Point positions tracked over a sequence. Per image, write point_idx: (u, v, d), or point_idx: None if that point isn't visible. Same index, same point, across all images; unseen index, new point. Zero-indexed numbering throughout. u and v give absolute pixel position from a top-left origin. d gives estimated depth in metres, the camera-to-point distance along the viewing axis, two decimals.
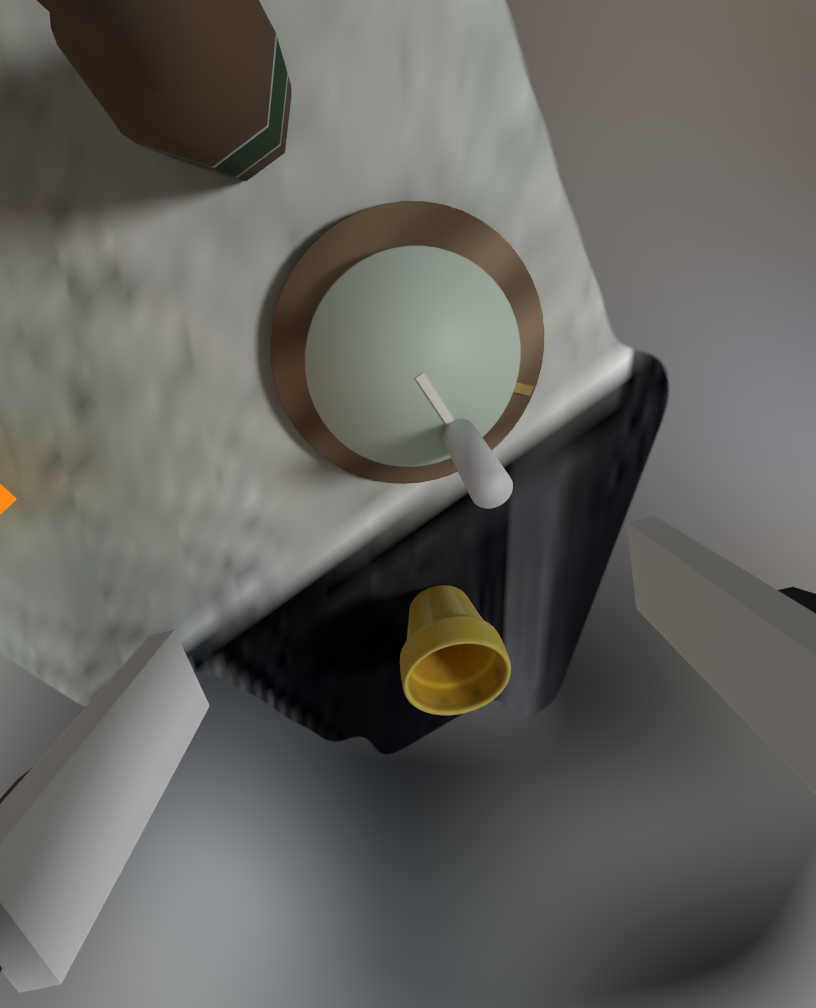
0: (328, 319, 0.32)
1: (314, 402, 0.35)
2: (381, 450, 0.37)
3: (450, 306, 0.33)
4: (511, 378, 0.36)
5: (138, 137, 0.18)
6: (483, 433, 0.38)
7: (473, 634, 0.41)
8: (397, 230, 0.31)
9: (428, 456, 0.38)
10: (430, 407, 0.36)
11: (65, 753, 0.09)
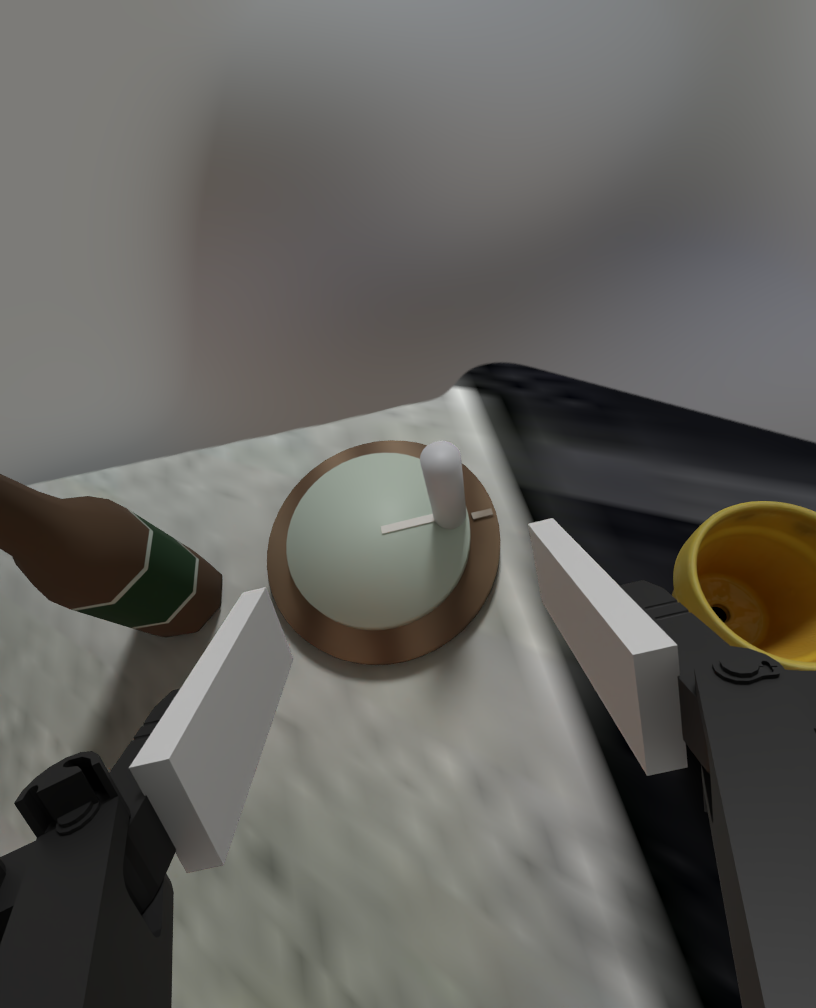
0: (307, 582, 0.39)
1: (360, 624, 0.37)
2: (433, 585, 0.37)
3: (344, 494, 0.42)
4: (418, 463, 0.42)
5: (95, 584, 0.30)
6: None
7: (691, 538, 0.30)
8: None
9: (458, 546, 0.38)
10: (412, 530, 0.40)
11: (206, 678, 0.10)
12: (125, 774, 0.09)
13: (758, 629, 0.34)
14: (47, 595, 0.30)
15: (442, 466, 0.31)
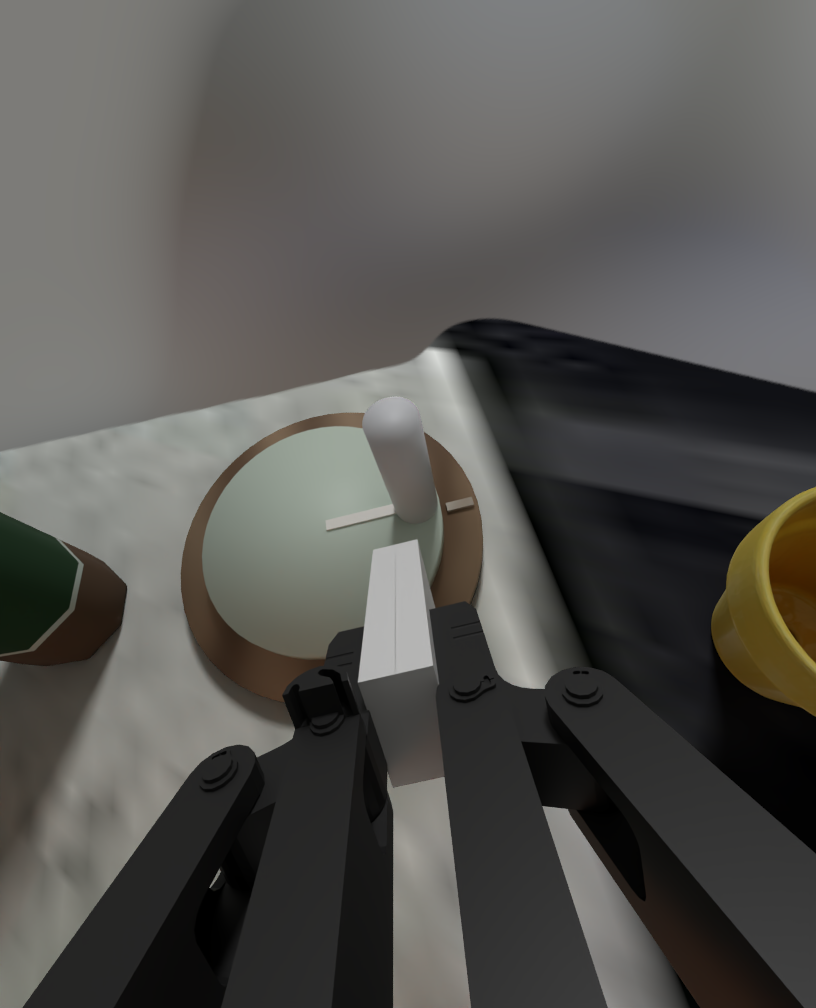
0: (225, 594, 0.29)
1: (292, 653, 0.27)
2: None
3: (281, 479, 0.32)
4: None
5: None
6: None
7: (756, 534, 0.20)
8: None
9: (426, 546, 0.29)
10: (366, 525, 0.30)
11: (386, 615, 0.11)
12: None
13: None
14: None
15: (393, 431, 0.22)
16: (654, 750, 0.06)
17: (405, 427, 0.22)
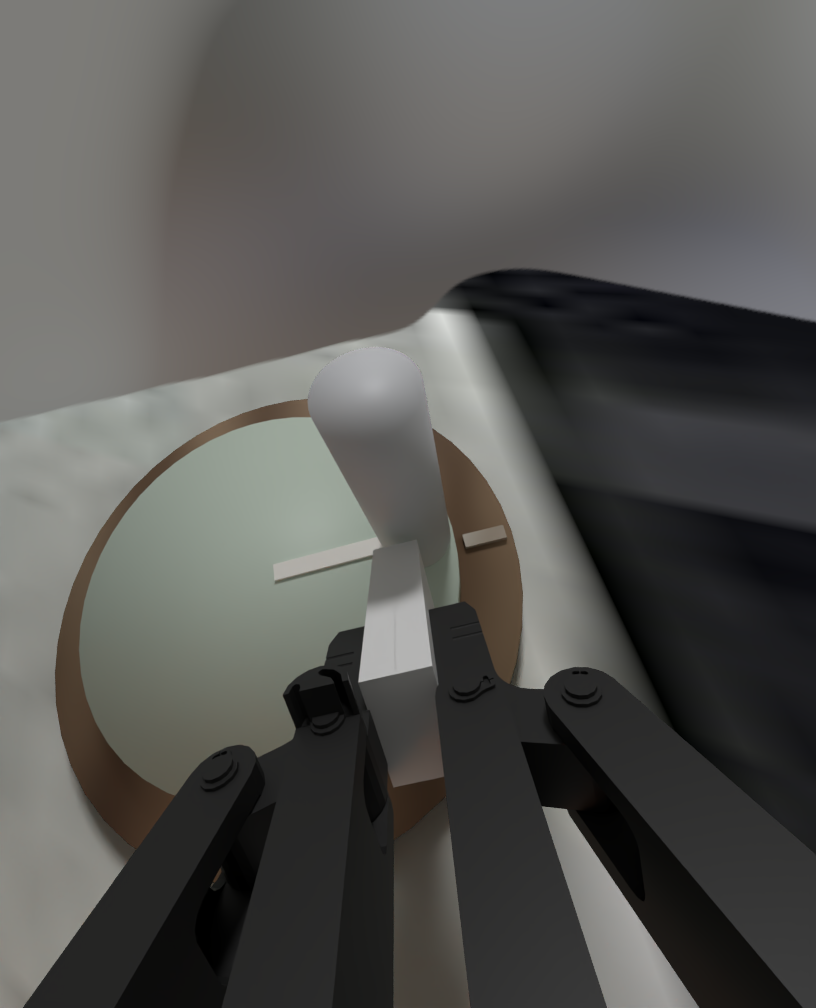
0: (110, 691, 0.18)
1: None
2: None
3: (209, 499, 0.21)
4: None
5: None
6: None
7: None
8: None
9: None
10: (338, 571, 0.19)
11: (386, 615, 0.11)
12: None
13: None
14: None
15: (369, 415, 0.11)
16: (653, 750, 0.06)
17: (394, 405, 0.11)
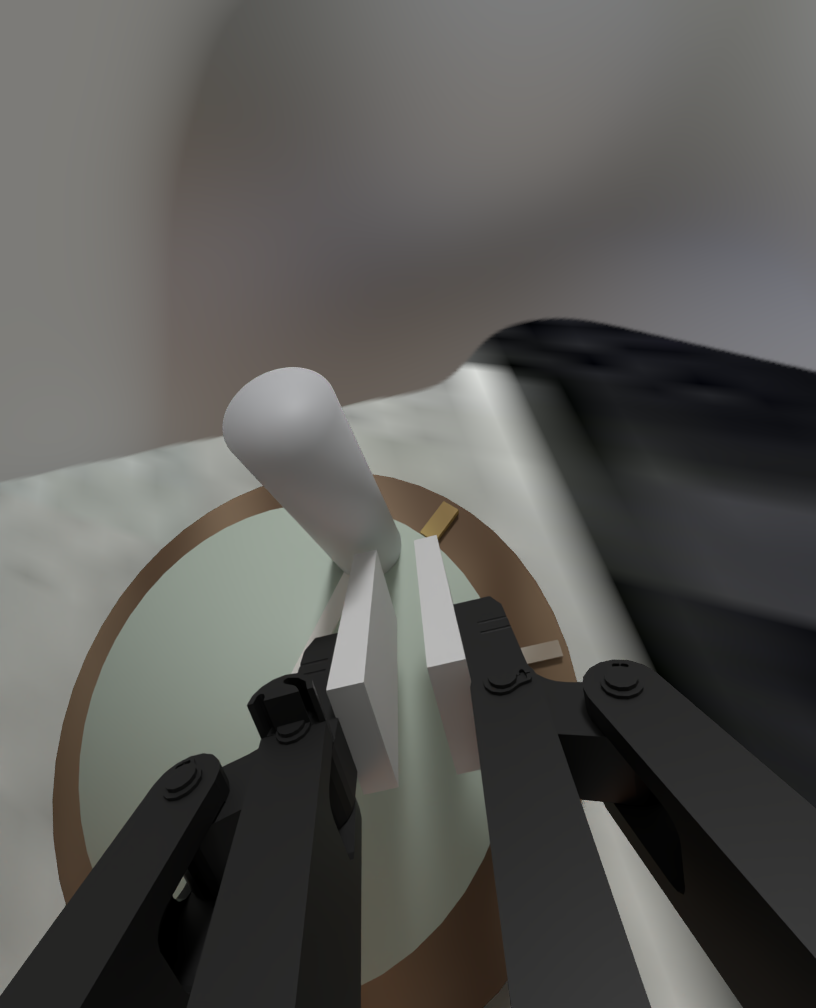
0: None
1: (452, 901, 0.14)
2: None
3: (161, 709, 0.17)
4: (238, 531, 0.20)
5: None
6: None
7: None
8: None
9: None
10: None
11: (360, 621, 0.11)
12: None
13: None
14: None
15: (303, 422, 0.11)
16: (697, 744, 0.06)
17: (313, 401, 0.11)
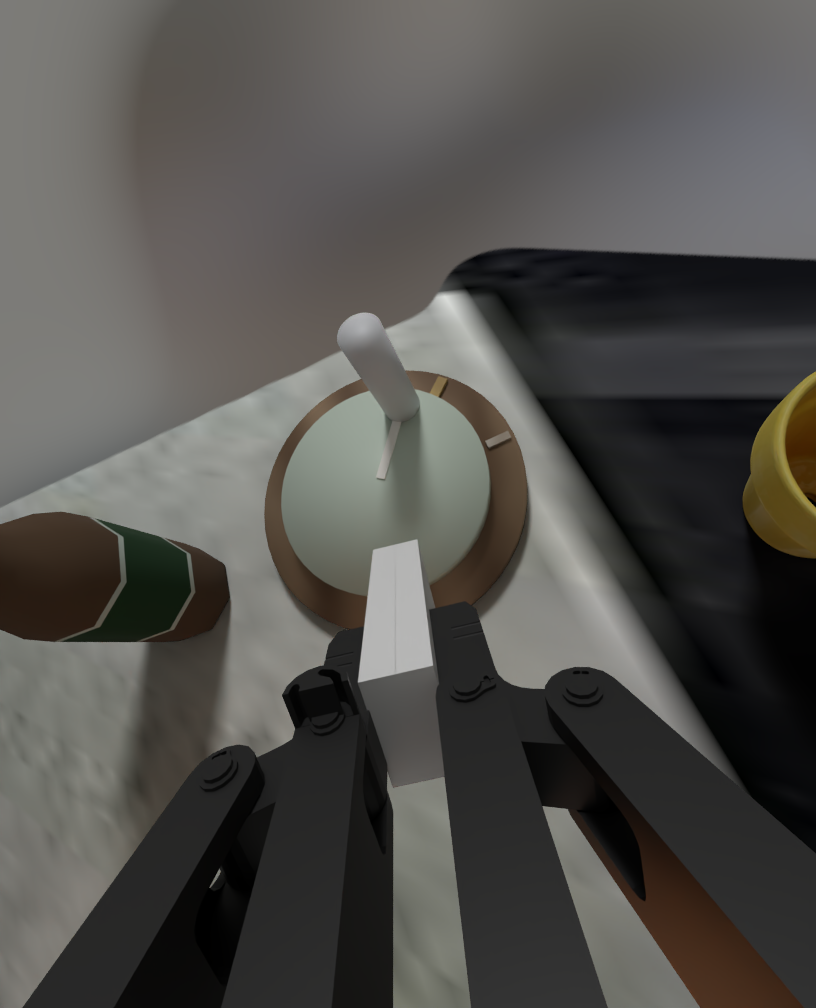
0: None
1: (470, 537, 0.31)
2: (467, 449, 0.33)
3: (318, 503, 0.35)
4: (330, 415, 0.37)
5: (67, 612, 0.26)
6: None
7: (772, 419, 0.23)
8: None
9: (439, 409, 0.35)
10: (398, 447, 0.35)
11: (386, 615, 0.11)
12: None
13: None
14: (18, 634, 0.26)
15: (370, 334, 0.27)
16: (654, 750, 0.06)
17: (371, 325, 0.27)
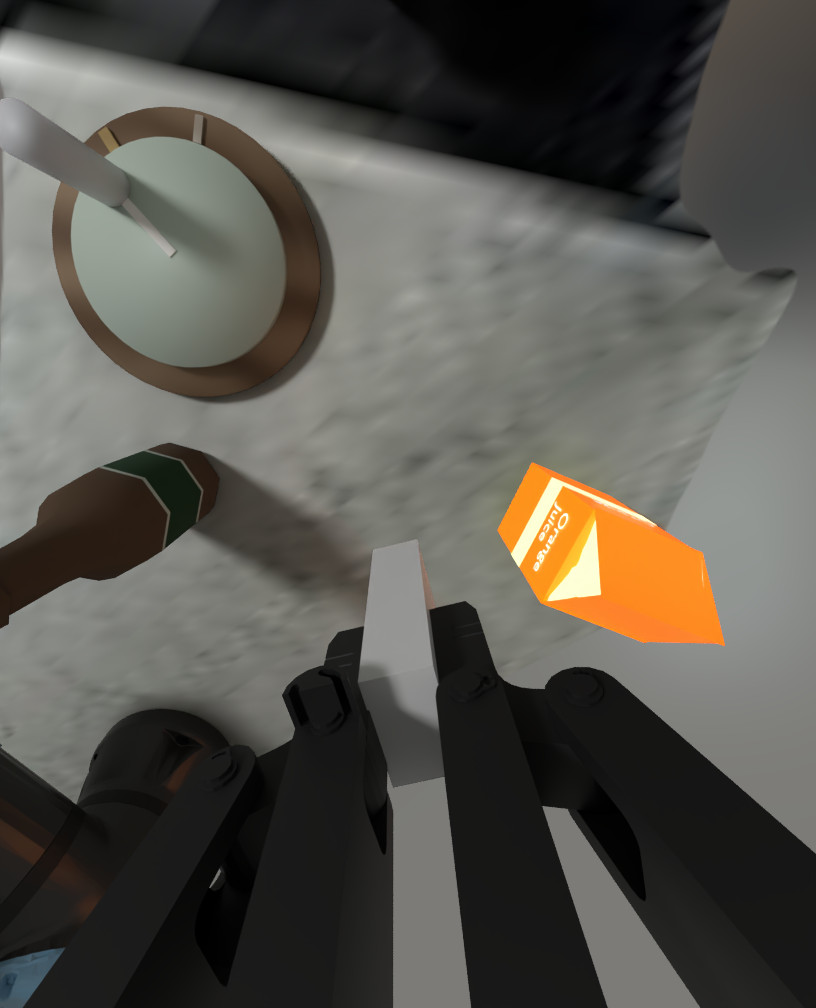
0: (266, 300, 0.37)
1: (269, 215, 0.35)
2: (191, 158, 0.34)
3: (163, 322, 0.37)
4: (79, 258, 0.36)
5: (146, 516, 0.32)
6: None
7: None
8: (131, 352, 0.40)
9: (136, 153, 0.34)
10: (152, 218, 0.35)
11: (386, 614, 0.11)
12: None
13: None
14: (142, 558, 0.32)
15: (24, 118, 0.26)
16: (654, 750, 0.06)
17: (14, 109, 0.26)
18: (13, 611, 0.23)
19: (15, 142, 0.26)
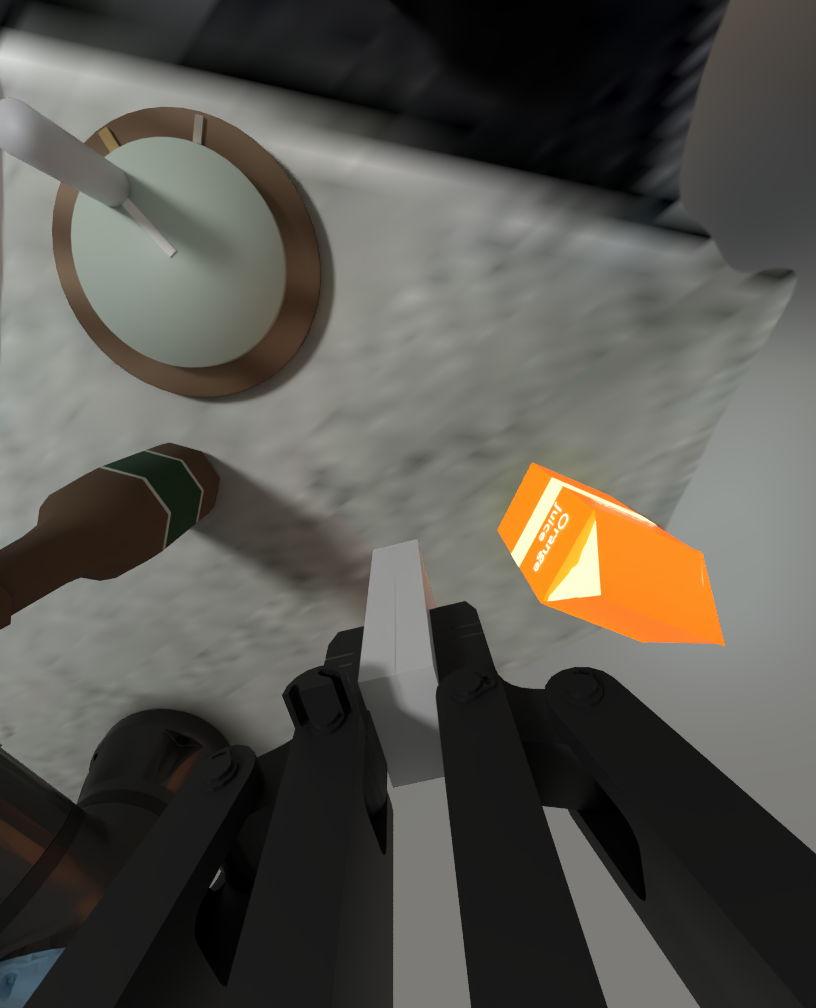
0: (266, 300, 0.37)
1: (269, 215, 0.35)
2: (191, 158, 0.34)
3: (163, 322, 0.37)
4: (79, 258, 0.36)
5: (147, 516, 0.32)
6: None
7: None
8: (131, 352, 0.40)
9: (137, 153, 0.34)
10: (152, 218, 0.35)
11: (386, 615, 0.11)
12: None
13: None
14: (143, 558, 0.32)
15: (24, 118, 0.26)
16: (654, 750, 0.06)
17: (14, 109, 0.26)
18: (15, 611, 0.23)
19: (15, 142, 0.26)
